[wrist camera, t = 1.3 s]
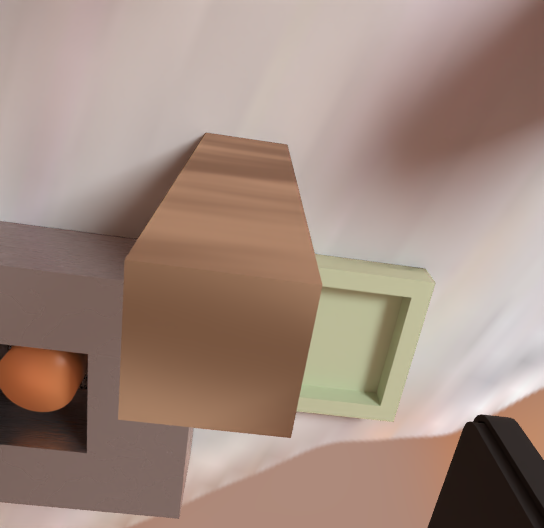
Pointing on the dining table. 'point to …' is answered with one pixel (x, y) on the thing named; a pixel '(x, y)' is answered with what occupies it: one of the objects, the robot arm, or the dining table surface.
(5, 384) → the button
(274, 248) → the walnut peg
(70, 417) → the block
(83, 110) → the dining table surface
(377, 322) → the holder tray
